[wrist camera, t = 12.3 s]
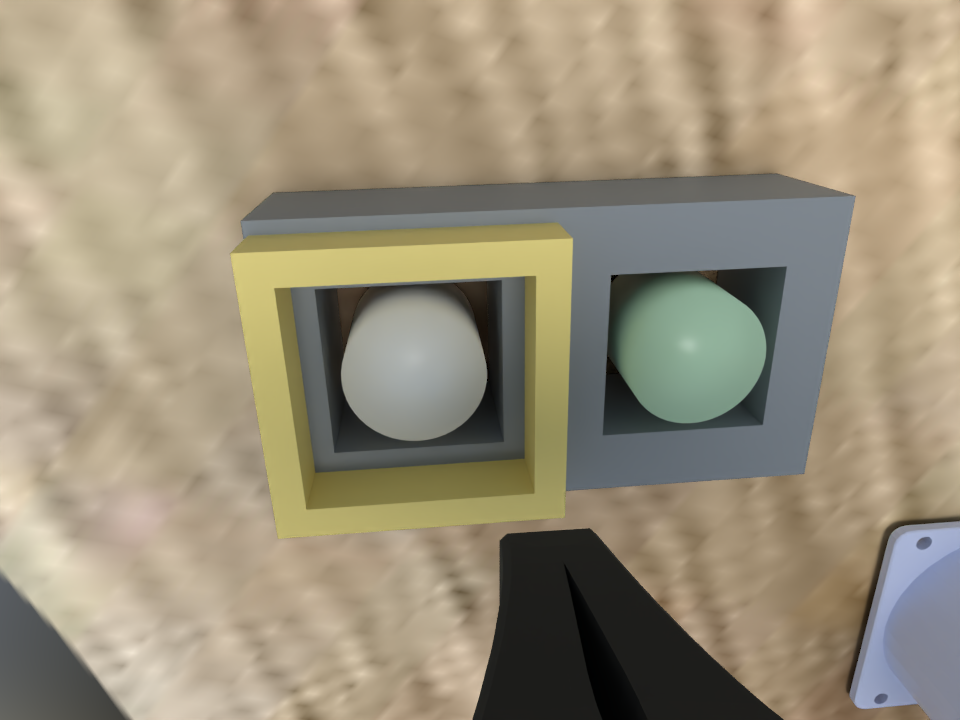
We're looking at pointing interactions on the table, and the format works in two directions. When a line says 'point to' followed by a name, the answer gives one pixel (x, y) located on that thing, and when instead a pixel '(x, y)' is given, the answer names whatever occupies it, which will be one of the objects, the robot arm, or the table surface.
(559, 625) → the robot arm
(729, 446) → the grey compartment tray
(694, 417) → the on button
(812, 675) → the table surface
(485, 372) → the button
